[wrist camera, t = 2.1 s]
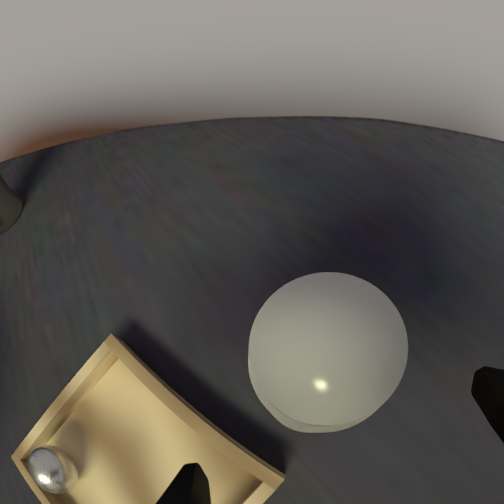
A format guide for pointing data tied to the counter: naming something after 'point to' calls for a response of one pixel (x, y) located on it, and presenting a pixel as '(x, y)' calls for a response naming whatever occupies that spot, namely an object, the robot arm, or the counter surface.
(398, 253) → the counter surface
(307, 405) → the ball
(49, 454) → the ball
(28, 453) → the tray
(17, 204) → the beer glass
